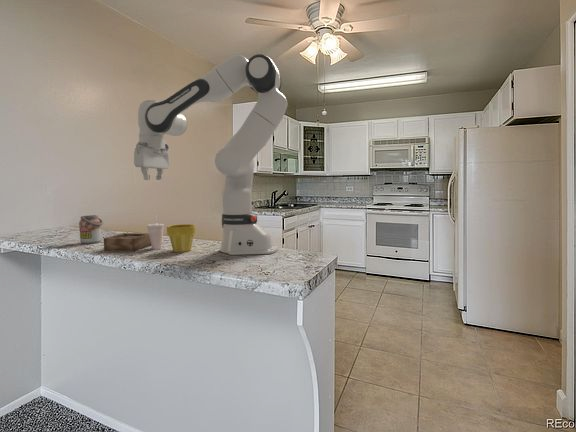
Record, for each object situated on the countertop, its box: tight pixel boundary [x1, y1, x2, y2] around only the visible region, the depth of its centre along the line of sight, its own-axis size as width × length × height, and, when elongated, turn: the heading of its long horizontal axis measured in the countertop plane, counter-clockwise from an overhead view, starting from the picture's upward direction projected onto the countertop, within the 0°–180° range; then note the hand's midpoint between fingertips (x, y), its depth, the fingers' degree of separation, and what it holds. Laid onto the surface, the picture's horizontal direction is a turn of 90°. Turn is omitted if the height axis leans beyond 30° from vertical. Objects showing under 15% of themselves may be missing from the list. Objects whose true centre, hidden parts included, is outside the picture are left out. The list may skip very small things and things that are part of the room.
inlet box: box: [102, 232, 152, 252], centre depth 133 cm, size 13×13×5 cm
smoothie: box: [146, 213, 165, 250], centre depth 131 cm, size 6×6×14 cm
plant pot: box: [166, 223, 196, 253], centre depth 127 cm, size 10×10×10 cm
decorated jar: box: [78, 214, 104, 245], centre depth 145 cm, size 9×8×12 cm
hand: (153, 179), depth 129 cm, fingers open, 8 cm apart
